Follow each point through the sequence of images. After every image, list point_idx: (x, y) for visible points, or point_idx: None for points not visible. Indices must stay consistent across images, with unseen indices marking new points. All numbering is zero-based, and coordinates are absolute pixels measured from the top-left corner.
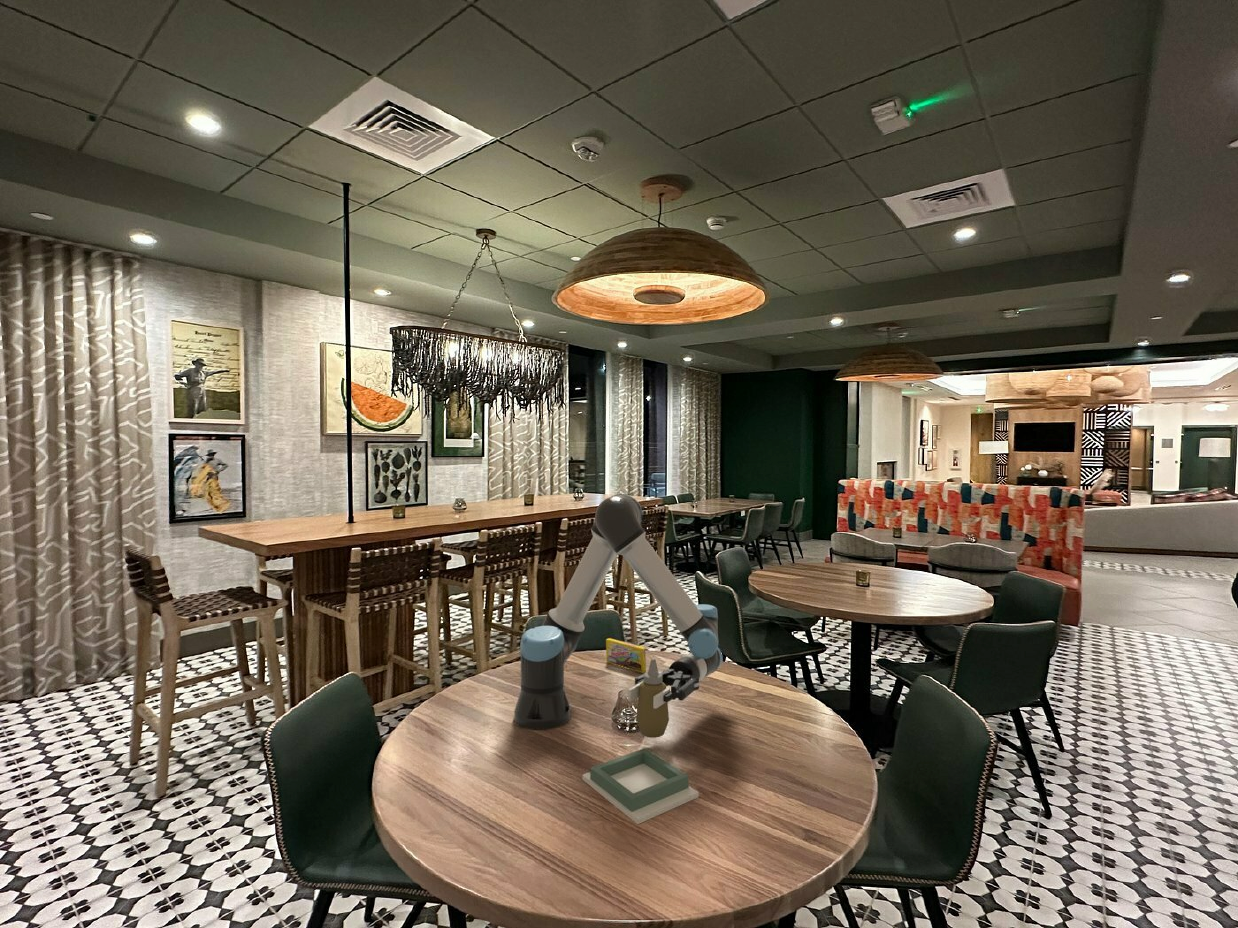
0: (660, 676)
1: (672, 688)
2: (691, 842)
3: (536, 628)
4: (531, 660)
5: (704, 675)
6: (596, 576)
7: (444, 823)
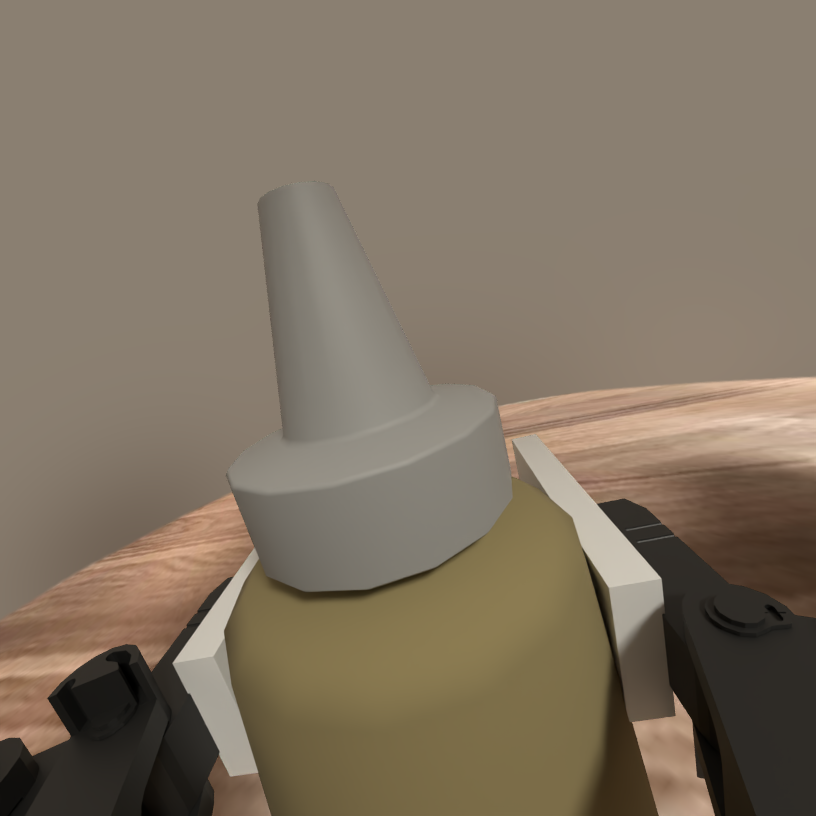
0: (251, 447)
1: (130, 668)
2: (223, 551)
3: None
4: None
5: None
6: None
7: (555, 412)
